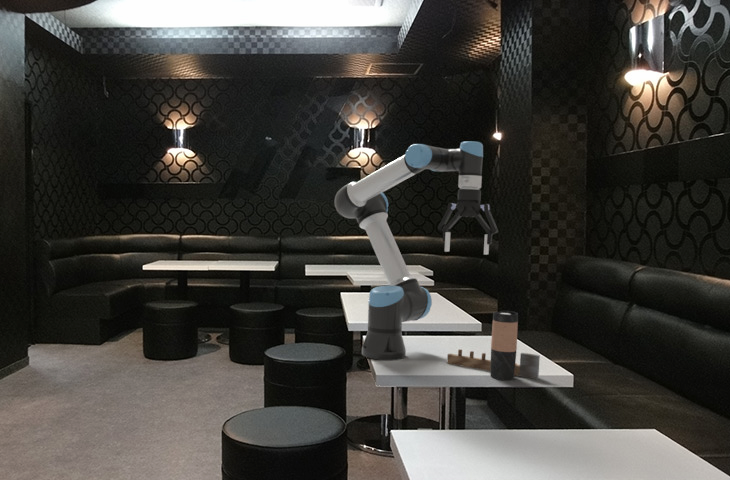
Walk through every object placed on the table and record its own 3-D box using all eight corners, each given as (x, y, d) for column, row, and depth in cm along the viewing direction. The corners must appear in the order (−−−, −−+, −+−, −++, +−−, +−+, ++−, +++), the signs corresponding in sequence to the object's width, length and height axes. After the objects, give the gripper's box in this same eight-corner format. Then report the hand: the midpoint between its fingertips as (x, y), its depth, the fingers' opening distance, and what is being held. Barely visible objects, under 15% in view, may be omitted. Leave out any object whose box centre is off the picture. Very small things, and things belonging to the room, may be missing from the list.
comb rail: (446, 363, 199) (448, 342, 199) (449, 362, 201) (450, 341, 200) (537, 378, 185) (538, 356, 184) (538, 377, 186) (539, 355, 186)
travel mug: (515, 381, 181) (519, 315, 180) (489, 379, 182) (493, 313, 181) (514, 374, 188) (517, 311, 187) (489, 372, 190) (492, 309, 189)
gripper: (430, 187, 202) (427, 250, 203) (503, 189, 190) (499, 256, 191) (438, 188, 208) (435, 249, 209) (510, 190, 196) (506, 255, 197)
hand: (466, 253), depth 200 cm, fingers open, 13 cm apart
